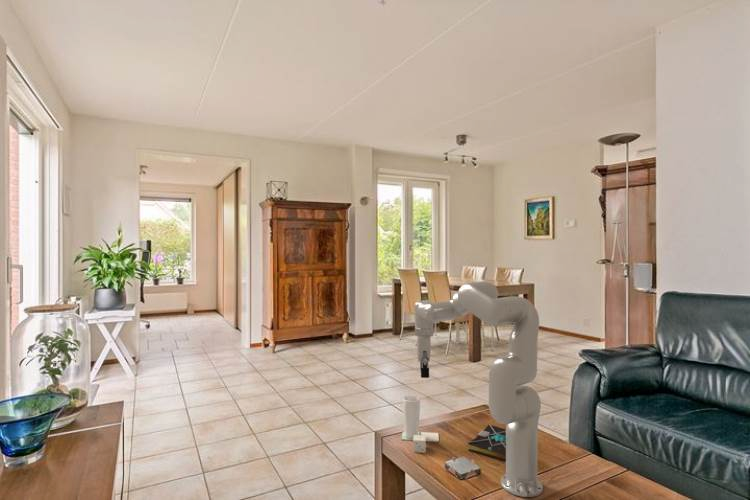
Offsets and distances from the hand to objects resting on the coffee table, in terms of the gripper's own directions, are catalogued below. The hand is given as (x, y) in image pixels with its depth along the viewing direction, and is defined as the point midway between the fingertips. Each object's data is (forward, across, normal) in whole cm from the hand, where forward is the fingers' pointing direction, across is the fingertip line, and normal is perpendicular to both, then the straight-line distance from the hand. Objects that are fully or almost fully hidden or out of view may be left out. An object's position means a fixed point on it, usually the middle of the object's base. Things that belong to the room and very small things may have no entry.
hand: (424, 374), depth 174 cm
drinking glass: (+24, +3, -6) cm, 25 cm away
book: (+26, +8, +28) cm, 38 cm away
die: (+25, +13, -3) cm, 28 cm away
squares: (+24, +2, -2) cm, 25 cm away
